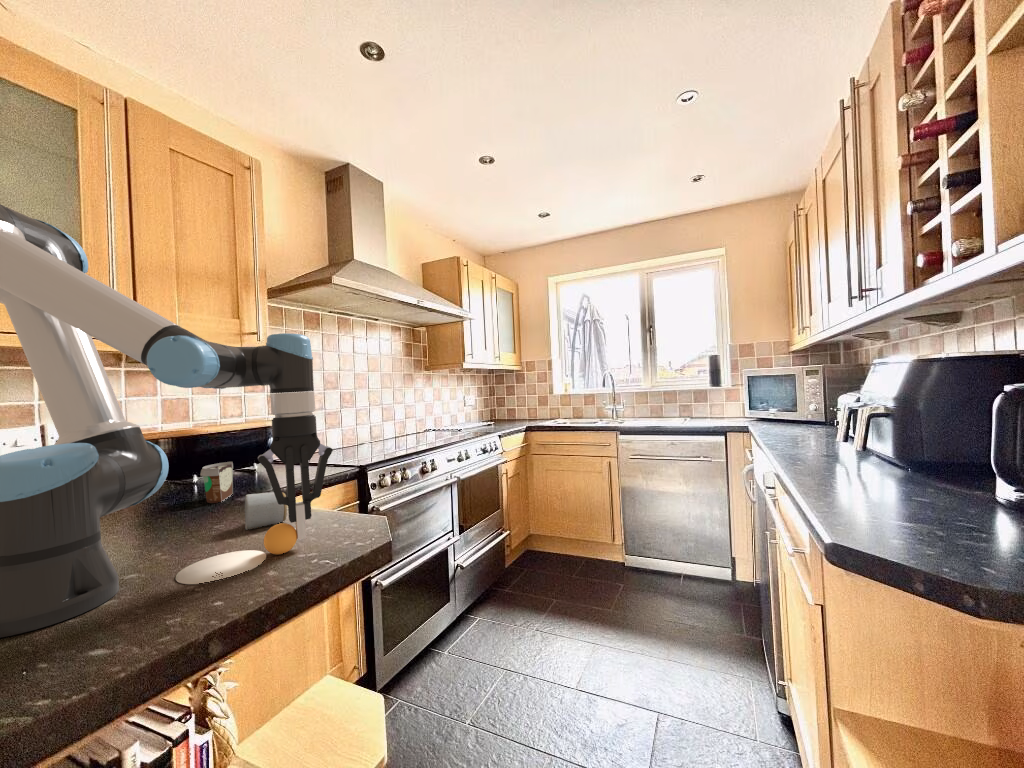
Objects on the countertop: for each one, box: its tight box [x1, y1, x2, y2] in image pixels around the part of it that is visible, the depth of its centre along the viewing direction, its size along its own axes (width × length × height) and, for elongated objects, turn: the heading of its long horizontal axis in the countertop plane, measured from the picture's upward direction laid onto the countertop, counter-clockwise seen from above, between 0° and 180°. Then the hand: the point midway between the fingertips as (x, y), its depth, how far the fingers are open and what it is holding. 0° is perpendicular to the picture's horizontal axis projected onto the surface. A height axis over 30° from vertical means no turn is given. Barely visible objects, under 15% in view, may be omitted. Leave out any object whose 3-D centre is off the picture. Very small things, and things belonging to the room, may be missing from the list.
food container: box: [199, 461, 234, 504], centre depth 121 cm, size 12×6×10 cm, turn 17°
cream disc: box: [175, 549, 267, 585], centre depth 73 cm, size 13×13×1 cm
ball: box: [263, 522, 298, 555], centre depth 77 cm, size 6×6×6 cm
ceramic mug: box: [244, 491, 288, 531], centre depth 96 cm, size 11×8×8 cm
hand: (301, 537), depth 79 cm, fingers closed
